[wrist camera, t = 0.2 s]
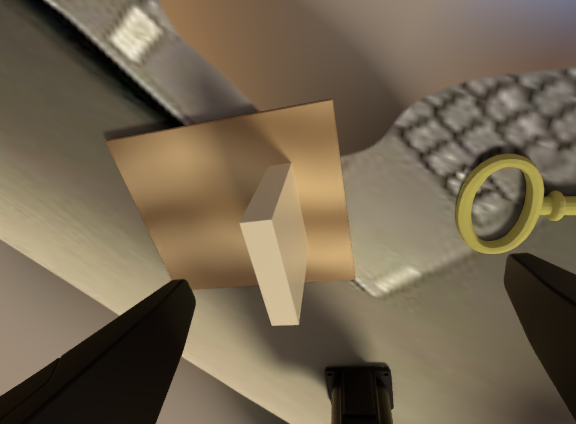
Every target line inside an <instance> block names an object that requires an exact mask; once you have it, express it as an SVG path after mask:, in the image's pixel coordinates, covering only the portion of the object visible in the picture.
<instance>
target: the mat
mask: <svg viewBox="0 0 576 424" xmlns="http://www.w3.org/2000/svg"><path fill="white" fill-rule="evenodd" d="M106 144H107V146H108V148H109V150H110V152H111V154H112V156H113V158H114V160H115V162H116V164H117V167H118V169H119V171H120V173H121V175H122V177H123V179H124V181H125V183H126V185H127V187H128V189H129V191H130V194H131V196H132V198H133V200H134V202H135V204H136V206H137V208H138V210H139V212H140V214H141V216H142V218H143V221H144V223H145V225H146V227H147V229H148V231H149V233H150V235H151V237H152V239H153V241H154V243H155V246H156V248H157V250H158V252H159V254H160V256H161V258H162V260H163V262H164V264H165V266H166V268H167V270H168V273H169V275H170V277H171V279H172V280H175V279H186V280H187V281H188V283H189V285H190V287H191V289H207V288H224V287H240V286H256V285H259V284H258V280H257V277H256V274H255V271H254V268H253V265H252V261H251V258H250V255H249V252H248V249H247V246H246V243H245V239H244V236H243V233H242V230H241V227H240V224H239V223H240V221H241V219H242V217H243V215H244V213H245V211H246V209H247V207H248V205H249V203H250V201H251V199H252V197H253V196H254V194H255V192H256V190H257V188H258V186H259V184H260V182H261V180H262V178H263V176H264V174H265V172H266V170H267V168H268V166H271V165H278V164H285V163H292V167H293V172H294V177H295V182H296V187H297V192H298V197H299V201H300V206H301V211H302V216H303V221H304V226H305V231H306V236H307V241H308V245H309V250H308V258H307V266H306V274H305V281H304V282H320V281H337V280H353V279H355V271H354V263H353V255H352V247H351V240H350V232H349V224H348V216H347V208H346V200H345V193H344V185H343V177H342V169H341V161H340V153H339V147H338V146H339V145H338V138H337V130H336V122H335V114H334V107H333V99H326V100H321V101H315V102H310V103H305V104H299V105H294V106H288V107H283V108H278V109H273V110H267V111H261V112H256V113H251V114H245V115H240V116H234V117H229V118H224V119H218V120H213V121H207V122H202V123H197V124H191V125H186V126H180V127H175V128H170V129H164V130H159V131H153V132H148V133H143V134H137V135H132V136H126V137H121V138H116V139H111V140H108V141H106Z"/></svg>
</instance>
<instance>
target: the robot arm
mask: <svg viewBox="0 0 576 424" xmlns="http://www.w3.org/2000/svg"><path fill="white" fill-rule="evenodd" d="M504 286H505V289H506V291H507V293H508V296H509V298H510V300H511V302H512V305H513V307H514V309H515V311H516V314H517V316H518V318H519V320H520V323H521V325H522V327H523V329H524V331H525V334H526V336H527V338H528V340H529V342H530V344H531V346H532V348H533V350H534V351H535V353H536V355H537V357H538V358H539V360H540V362H541V363H542V365H543V367H544V368H545V370H546V372H547V374H548V375H549V377H550V379H551V380H552V382H553V384H554V385H555V387H556V389H557V391H558V392H559V394H560V396H561V397H562V399H563V401H564V402H565V404H566V406H567V407H568V409H569V411H570V413H571V414H572V416H573V418H574V419H575V421H576V275H575V274H573V273H571V272H569V271H567V270H564V269H562V268H560V267H558V266H556V265H554V264H551V263H549V262H547V261H545V260H543V259H541V258H538V257H536V256H534V255H532V254H529V253H514V254H510V255H508V257H507V259H506V266H505V274H504ZM195 306H196V300H195V296H194V294H193V292H192V290H191V287H190V285H189V283H188V281H187V280H186V279H175V280H172V281H170V282H169V283H167V284H166V285H164V286H163V287H161V288H160V289H158V290H157V291H155V292H154V293H153V294H151V295H150V296H148V297H147V298H145V299H144V300H142V301H141V302H139V303H138V304H136V305H135V306H134V307H132V308H131V309H129V310H128V311H126V312H125V313H123V314H122V315H120V316H119V317H117V318H116V319H115V320H113V321H112V322H110V323H109V324H107V325H106V326H104V327H103V328H102V329H100V330H98V331H97V332H96V333H94V334H93V335H91V336H90V337H88V338H87V339H85V340H84V341H82V342H81V343H80V344H78V345H77V346H75V347H74V348H72V349H71V350H69V351H68V352H66V353H65V354H63V355H62V356H61V358H57V359H56V360H55V361H53V362H52V363H50V364H49V365H47V366H46V367H44V368H43V369H41V370H40V371H39V372H37V373H36V374H34V375H32V376H31V377H29V378H28V379H26V380H25V381H23V382H22V383H20V384H19V385H17V386H16V387H14V388H12V389H11V390H9V391H8V392H6V393H5V394H3V395H1V396H0V424H155V423H156V421H157V419H158V416H159V414H160V411H161V408H162V405H163V403H164V400H165V398H166V395H167V392H168V390H169V387H170V384H171V382H172V379H173V376H174V374H175V372H176V369H177V366H178V364H179V361H180V358H181V356H182V353H183V350H184V346H185V343H186V339H187V336H188V332H189V328H190V325H191V321H192V317H193V313H194V310H195ZM325 379H326V383H327V387H328V392H329V396H330V401H331V405H332V417H331V424H393V420H392V413H391V410H392V409H393V408H394V405H393V391H392V377H391V370H390V369H389V368H326V369H325Z"/></svg>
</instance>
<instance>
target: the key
mask: <svg viewBox="0 0 576 424" xmlns="http://www.w3.org/2000/svg"><path fill="white" fill-rule="evenodd" d="M504 167H516V168H519V169H520V170H521V171H522V172H523V173H524V176H525V179H526V196H525V202H524V206H523V209H522V212H521V214H520V216H519V219H518V221H517V222H516V224H515V225H514V227H513V228H512V229H511V230H510V231H509V232H508V233H507V235H505V236H504V237H502V238H500V239H498V240H494V241H484V240H481V239H480V238H478V237H477V235H476V233H475V231H474V228H473V225H472V220H471V209H472V203H473V199H474V197H475V194H476V192H477V190H478V188H479V187H480V186H481V184H482V183H483V182H484V181H485V179H486V178H487V177H488V176H489V175H490V174H491V173H493V172H495V171H496V170H498V169H501V168H504ZM543 196H544V185H543V180H542V178H541V175H540V173H539V171H538V169H537V167H536V165H535V164H534V163H533V162H532V161H531V160H529V159H528V158H526V157H524V156H521V155H517V154H500V155H496V156H493V157H491V158H489V159H487V160H485V161H484V162H482V163H480V164H479V165H478V166H477V167H476V168H475V169H474V170H473V171H472V172H471V173H470V175H469V176H468V177H467V179H466V180H465V182H464V184H463V185H462V188H461V190H460V193H459V196H458V200H457V204H456V214H455V215H456V226H457V229H458V232H459V234H460V235H461V237H462V239H463V240H464V241H465V242H466V243H467V244H468V245H469V246H470V247H472V248H473V249H475V250H476V251H479V252H481V253H487V254H498V253H503V252H506V251H509V250H511V249H513V248H515V247H517V246H518V245H519V244H520V243H521V242H523V241H524V240H525V239H526V238H527V237H528V235H529V234H530V233H531V231H532V230H533V228H534V226H535V224H536V222H537V220H538V217H539V215H545V216H546V217H547V218H548V219H549V220H551V221H557V220H560V219H561V218H562V217H563V216H564V215H576V196H563V194H562V193H561V192H559V191H551V192H550V193H549V194H548V195H547V197H543Z"/></svg>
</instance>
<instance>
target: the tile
mask: <svg viewBox="0 0 576 424" xmlns="http://www.w3.org/2000/svg"><path fill="white" fill-rule="evenodd" d="M239 224H240V227H241V230H242V233H243V236H244V239H245V243H246V246H247V249H248V252H249V255H250V258H251V261H252V265H253V268H254V271H255V274H256V277H257V280H258V284H259V287H260V290H261V293H262V296H263V299H264V303H265V306H266V309H267V312H268V315H269V318H270V321H271V325H272V326H279V325H299V320H300V312H301V305H302V297H303V289H304V281H305V274H306V266H307V258H308V250H309V245H308V241H307V236H306V231H305V226H304V221H303V216H302V211H301V206H300V201H299V197H298V192H297V187H296V182H295V177H294V172H293V167H292V163H285V164H278V165H271V166H268V168H267V170H266V172H265V174H264V176H263V178H262V180H261V182H260V184H259V186H258V188H257V190H256V192H255V194H254V196H253V197H252V199H251V201H250V203H249V205H248V207H247V209H246V211H245V213H244V215H243V217H242V219H241V221H240V223H239Z"/></svg>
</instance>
